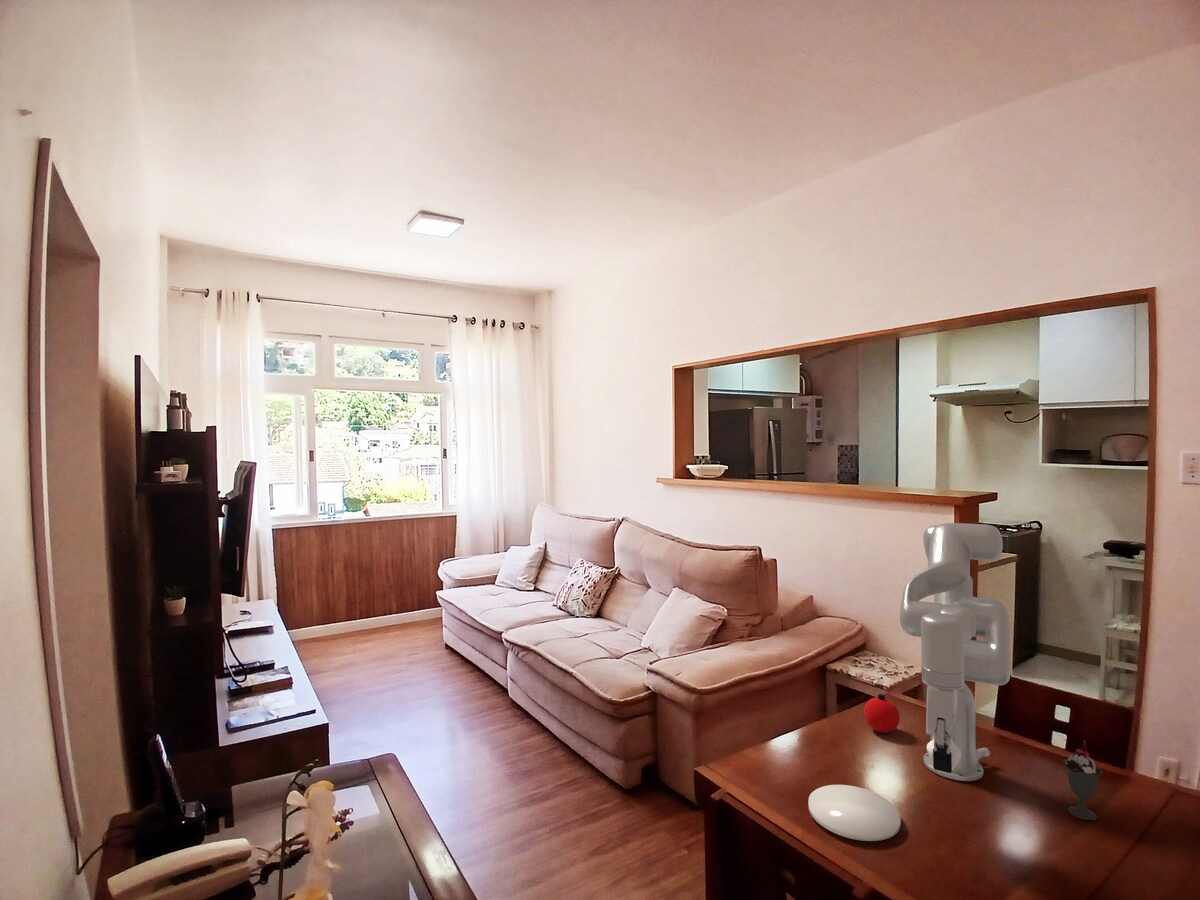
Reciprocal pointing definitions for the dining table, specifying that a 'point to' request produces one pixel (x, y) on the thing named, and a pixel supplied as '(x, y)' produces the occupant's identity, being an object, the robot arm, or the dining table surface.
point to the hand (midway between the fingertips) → (943, 761)
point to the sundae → (1082, 781)
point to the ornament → (881, 714)
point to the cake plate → (854, 812)
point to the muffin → (953, 749)
